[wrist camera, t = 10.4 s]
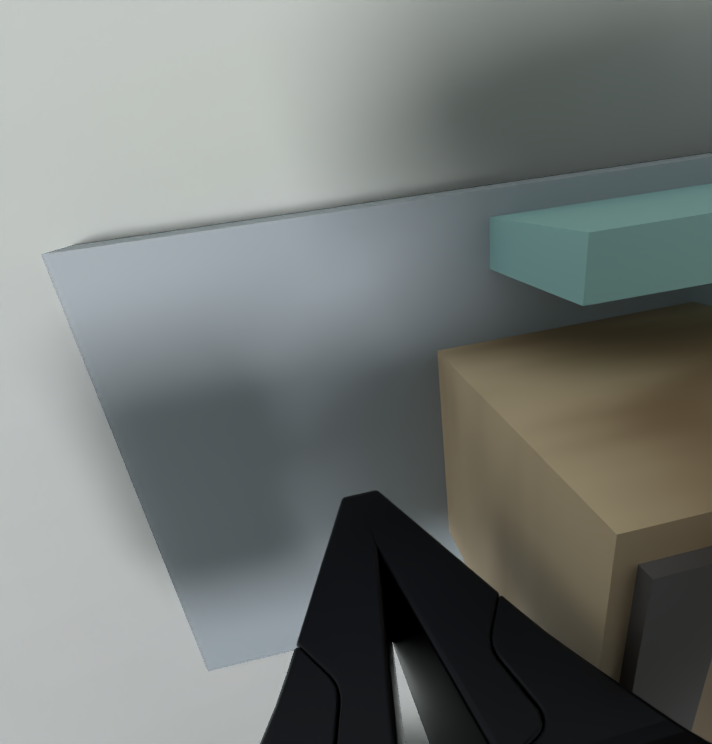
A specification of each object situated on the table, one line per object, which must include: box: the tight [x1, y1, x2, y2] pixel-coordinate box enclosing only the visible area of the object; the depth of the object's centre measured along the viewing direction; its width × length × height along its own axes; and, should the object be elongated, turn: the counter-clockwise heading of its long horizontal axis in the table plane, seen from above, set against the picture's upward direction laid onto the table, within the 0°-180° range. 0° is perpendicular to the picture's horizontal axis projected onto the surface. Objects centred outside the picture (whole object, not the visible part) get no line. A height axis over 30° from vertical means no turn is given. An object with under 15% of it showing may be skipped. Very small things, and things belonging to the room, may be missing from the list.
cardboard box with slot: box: [437, 302, 712, 743], centre depth 8 cm, size 6×5×6 cm
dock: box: [42, 153, 712, 671], centre depth 10 cm, size 15×11×4 cm
